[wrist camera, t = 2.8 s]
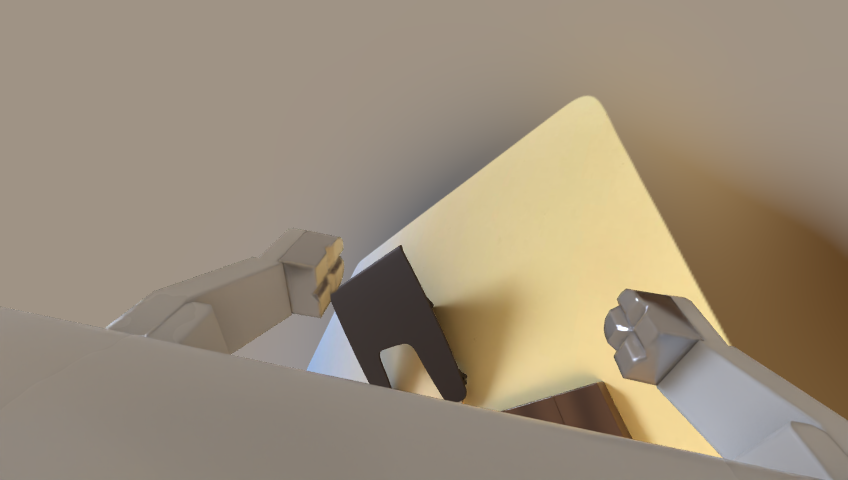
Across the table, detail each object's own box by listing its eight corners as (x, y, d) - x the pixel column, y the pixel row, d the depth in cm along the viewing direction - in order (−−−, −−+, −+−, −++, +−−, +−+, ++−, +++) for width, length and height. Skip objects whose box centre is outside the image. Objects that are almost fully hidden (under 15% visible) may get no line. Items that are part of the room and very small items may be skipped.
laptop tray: (409, 390, 59) (372, 422, 52) (358, 281, 61) (317, 298, 55) (506, 378, 43) (472, 421, 37) (432, 233, 46) (388, 249, 39)
